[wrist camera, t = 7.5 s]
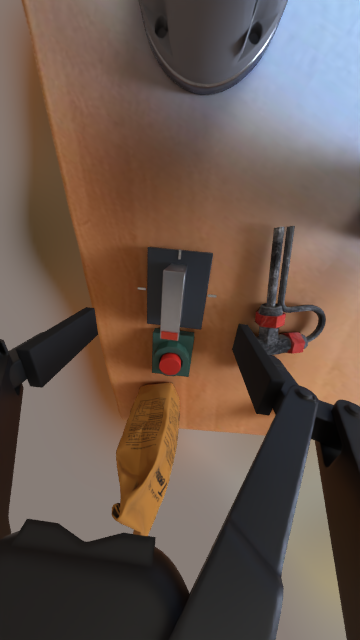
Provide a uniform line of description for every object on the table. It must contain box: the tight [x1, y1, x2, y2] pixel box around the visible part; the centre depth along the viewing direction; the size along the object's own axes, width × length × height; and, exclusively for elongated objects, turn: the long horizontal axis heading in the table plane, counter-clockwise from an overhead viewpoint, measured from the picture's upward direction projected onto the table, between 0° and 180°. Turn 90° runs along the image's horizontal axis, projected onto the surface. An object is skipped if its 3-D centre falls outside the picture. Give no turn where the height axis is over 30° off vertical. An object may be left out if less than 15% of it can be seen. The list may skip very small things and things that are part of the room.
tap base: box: [138, 247, 216, 329], centre depth 29 cm, size 13×13×3 cm
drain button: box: [159, 353, 181, 375], centre depth 32 cm, size 4×4×2 cm
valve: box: [255, 226, 326, 355], centre depth 28 cm, size 6×26×15 cm
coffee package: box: [112, 382, 180, 536], centre depth 32 cm, size 10×12×22 cm
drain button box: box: [152, 328, 194, 377], centre depth 34 cm, size 10×8×4 cm
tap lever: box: [160, 263, 187, 341], centre depth 24 cm, size 9×2×8 cm, turn 175°
